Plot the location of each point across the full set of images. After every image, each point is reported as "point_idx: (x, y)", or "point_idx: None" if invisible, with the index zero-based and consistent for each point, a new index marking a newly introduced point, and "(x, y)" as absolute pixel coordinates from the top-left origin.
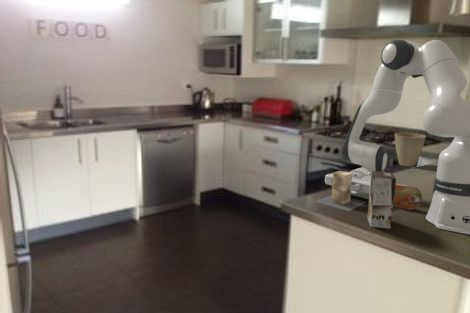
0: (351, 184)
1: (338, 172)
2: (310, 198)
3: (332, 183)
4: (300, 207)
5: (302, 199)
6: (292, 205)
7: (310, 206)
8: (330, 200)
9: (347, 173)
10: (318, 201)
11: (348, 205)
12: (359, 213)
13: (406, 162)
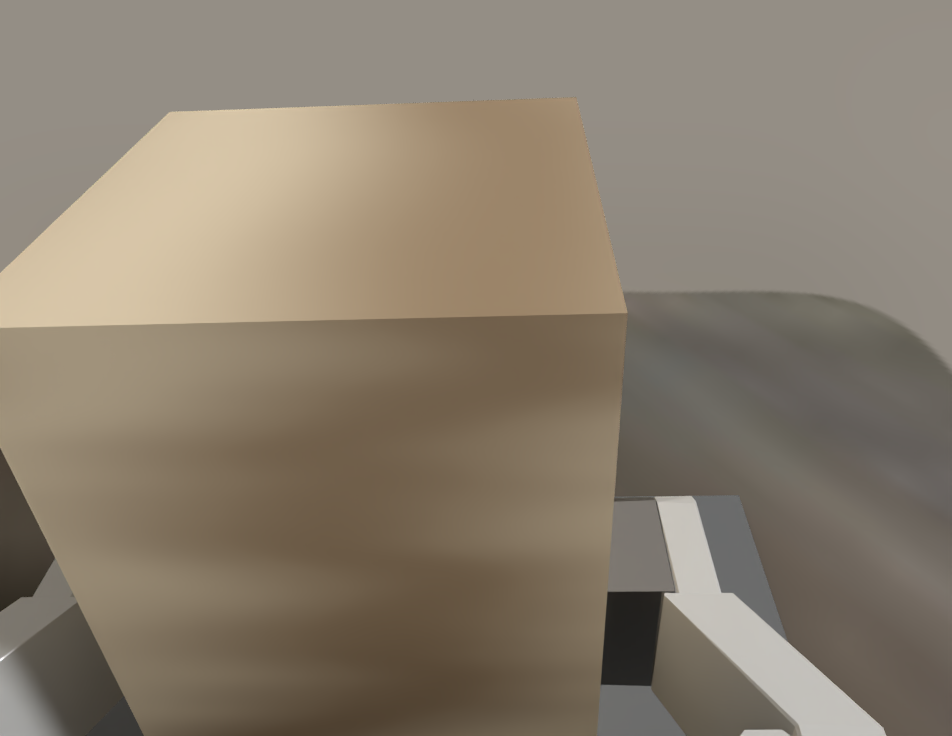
0: (117, 668)
1: (492, 161)
2: (943, 607)
3: (669, 500)
4: (684, 319)
5: (944, 496)
6: (783, 313)
7: (641, 384)
8: (625, 722)
9: (163, 216)
10: (711, 543)
11: None
12: (18, 540)
13: None
